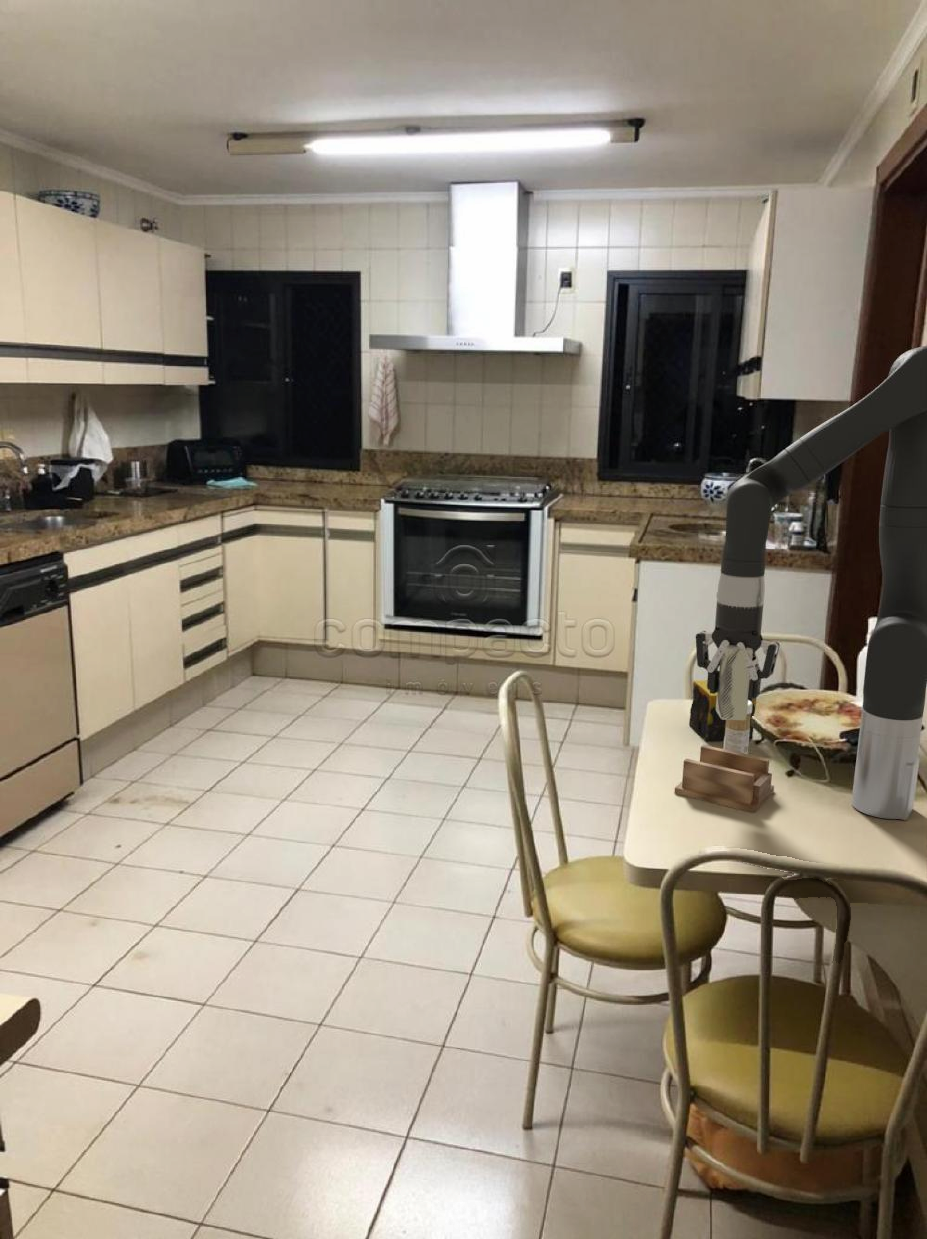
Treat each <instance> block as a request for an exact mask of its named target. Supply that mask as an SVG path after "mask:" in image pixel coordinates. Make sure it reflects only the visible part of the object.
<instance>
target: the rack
mask: <svg viewBox="0 0 927 1239" xmlns="http://www.w3.org/2000/svg"><path fill="white" fill-rule="evenodd" d="M699 754H700V756H699V761H698V760H694V759H690V758H685V759H684V760H683V766H682V767H683V768H682V769H683V770H682V781H681V782H680V783H678V784H677V785H676V786H675V787H674V792H673V793H674V794H675V795H676V794H677V795H681V796H685V797H688V798H689V797H690V798H693V799H697V800H701V801H704V802H708V803H712V804H717V805H721V806H725V807H729V808H732V809H736V810H740V811H744V812H749V813H753V814H755V812H756V811H758V809H759V808H760V807H761V806H762V805H763V804H764V802H766V800H767V799H768V798H769V797H770V796H771V795H772V794H773V792H774V791H775V785H772V779H773V778H772V776H773V774H772V773H771V772H769V768H770V758H765V757H760V756H756V755H753V754H752V755H751V754H748V755H747V754H743V753H738V752H734V751H729V750H725V749H723V748H720V747H714V746H710V745H706V744H703V745H701V746H700V753H699Z"/></svg>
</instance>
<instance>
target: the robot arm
mask: <svg viewBox="0 0 927 1239" xmlns="http://www.w3.org/2000/svg"><path fill="white" fill-rule="evenodd" d="M888 431H889V434H888V436H889V437H888V447H887V453H886V458H885V459H886V460H885V464H884V465H885V466H884V475H883V481H882V490H881V497H880V511H879V523H878V524H879V526H878V530H879V531H878V542H879V543H878V545H879V556H880V565H881V572H882V586H881V587H882V588H881V596H880V602H879V609H878V614H877V618H876V623H875V626H874V628H873V630H872V633H871V635H870V637H869V640H868V644H867V650H866V658H865V667H864V678H863V686H862V687H863V688H862V694H863V696H862V697H863V698H862V707H861V717H860V725H859V734H858V742H857V752H856V758H855V759H856V762H855V768H854V777H853V787H852V793H851V795H852V796H851V804H852V806H853V808H854V809H856V810H857V811H859V812H860V813H864V814H866V815H868V816H870V817H871V816H872V817H876V818H880V819H881V818H882V819H888V820H889V819H891V820H892V819H894V820H897V819H899V820H903V821H907V820H908V818H909V817H910V815H911V813H912V811H913V809H914V805H915V804H914V803H915V797H916V789H917V782H918V781H917V780H918V773H919V766H920V759H921V758H920V755H919V749H920V748H919V747H920V741H921V733H922V727H923V726H922V725H923V720H924V719H923V718H924V711H925V710H924V709H925V703H926V693H927V692H926V691H927V345H923V346H918V347H915V348H912V349H909V350H906V351H905V352H904V353H902V354H901V355H899V356H898V357H897V359H896V360H895V361H894V362H893V364H892V365H891V366H890V369H889V373H888V376H887V378H886V379H884V380H883V382H882V383H880V384H879V385H878V386H877V387H875V389H873V390H872V391H871V392H869V393H868V394H867V395H865V396H864V397H862V399H860V400H858V401H857V402H855V403H854V404H853V405H852V406H850V407H848V408H847V409H845V410H843V411H841V412H840V413H838V414H837V415H834V416H833V417H832V418H829V419H828V420H826V421H825V422H823V423H821V424H820V425H818V426H816V427H815V428H813V429H812V430H810V431H809V432H807V433H806V434H804V435H803V436H801V437H799V439H797V440H795V441H794V442H793V443H791V444H790V445H789V446H787V447H786V448H785V449H783V450H782V451H781V452H779V453H777V455H776V456H774V457H773V458H772V459H770V460H769V461H768V462H766V463H764V464H762V465H760V466H758V467H757V468H755V469H754V470H752V471H750V472H749V473H748V474H746V475H744V476H742V477H741V478H740V479H739V480H737V481H735V482H734V483H733V484H732V485H730V487H729V489H728V491H727V492H726V495H725V507H726V508H725V509H726V510H725V511H726V512H725V513H726V518H725V540H724V543H723V546H722V553H721V562H720V574H719V579H718V584H717V592H716V607H715V620H714V630H713V631H712V632H707V631H706V630H702V631H700V632H699V631H698V633H697V634H695V645H696V647H695V648H696V649H695V650H696V665H697V666H698V668H703V669H705V670H706V671H707V688H708V690H710V693H712V694H715V693H716V692H717V689H718V679H719V668H720V662H721V660H722V657H723V655H724V653H725V647H726V646H729V645H735V646H737V648H742V649H743V650H745V651H746V648H751V649H753V657H752V660H751V658H750V656H749V654H748V652H747V653H746V660H748V661H746V660H745V667H746V668H749V669H750V670H749V674H750V680H749V692H748V700H749V701H753V700H755V698H756V699H757V698H758V697H759V695H760V694H761V684H762V683H761V682H762V679H768V678H769V677H771V676H772V675H773V674H774V670H775V666H776V663H777V659H778V655H779V650H780V645H781V644H780V643H779V642H778V641H773V642H771V641H767V640H765V639H763V636H762V626H763V616H764V615H763V613H764V601H765V586H766V585H765V572H766V570H765V569H766V560H767V559H766V558H767V540H768V534H769V531H770V524H771V518H772V517H771V516H772V509H773V507H774V506H776V505H778V504H779V503H780V502H781V501H783V500H784V499H785V498H787V497H788V496H790V495H792V494H795V493H798V492H801V491H802V490H804V489H806V488H808V487H809V486H811V485H812V484H813V483H815V482H817V481H819V479H821V478H822V477H823V476H825V475H826V474H828V473H829V472H832V470H834V469H835V468H837V466H840V464H842V463H843V462H845V461H846V460H847V459H849V458H850V457H851V456H852V455H854V454H856V453H857V452H858V451H859V450H861V449H862V448H864V447H865V446H867V445H868V444H869V443H871V442H872V441H874V440H875V439H877V438H878V437H880V436H881V435H884V433H886V432H888ZM712 641H713V643H714V646H716V648H717V650H716V651H715V653H714V655H713V657H712V658H711V660H710V658H709V657H710V656H709V644H711V642H712ZM760 648H762V649H763V654H764V655H765V659H764V663H763V667H762V669H761V666H760V661H759V659H758V655H757V651H758V650H759V649H760Z"/></svg>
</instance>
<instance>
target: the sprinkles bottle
mask: <svg viewBox="0 0 927 1239" xmlns="http://www.w3.org/2000/svg"><path fill="white" fill-rule="evenodd" d="M751 713H752V702H751V701H749V700H748V706H747V716H746V720H726V727H725V737H724V741H723V748H722V749H725V750H729V751H734V752H738V753H743V754H747V755H749V754H748V753H749V744H750V743H749V742H750V740H749V733H750V715H751Z"/></svg>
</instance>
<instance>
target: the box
mask: <svg viewBox="0 0 927 1239" xmlns="http://www.w3.org/2000/svg"><path fill="white" fill-rule="evenodd" d="M747 652H748V654H749V656H750V658H751V660H752V657H753V649H751V648H746V651H745V650H743V649H742V648H737V646H735V645H729V646H726V647H725V653H724V655H723V657H722V660H721V662H720V666H719V668H718V671H719V679H718V689H717V700H716V711H717V713H718V715H719V716H720V718H721V719H722V720H746V716H747V706H748V692H749V680H750V679H751V677H750V674H749V670H750V669H749V668H746V667H745V660H746V653H747ZM746 661H748V660H746Z"/></svg>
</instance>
